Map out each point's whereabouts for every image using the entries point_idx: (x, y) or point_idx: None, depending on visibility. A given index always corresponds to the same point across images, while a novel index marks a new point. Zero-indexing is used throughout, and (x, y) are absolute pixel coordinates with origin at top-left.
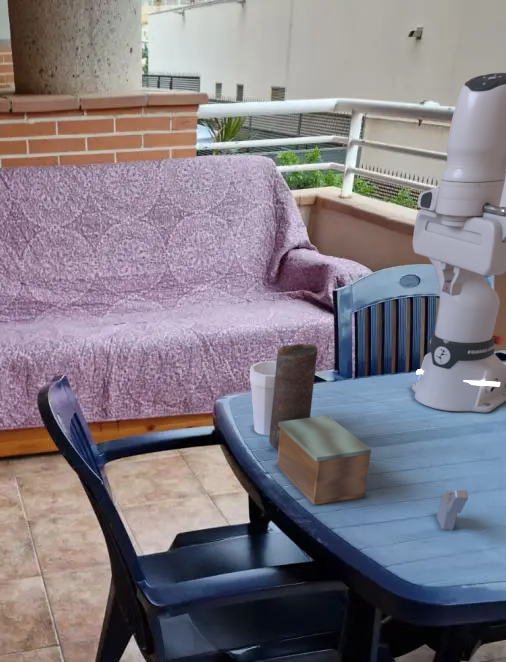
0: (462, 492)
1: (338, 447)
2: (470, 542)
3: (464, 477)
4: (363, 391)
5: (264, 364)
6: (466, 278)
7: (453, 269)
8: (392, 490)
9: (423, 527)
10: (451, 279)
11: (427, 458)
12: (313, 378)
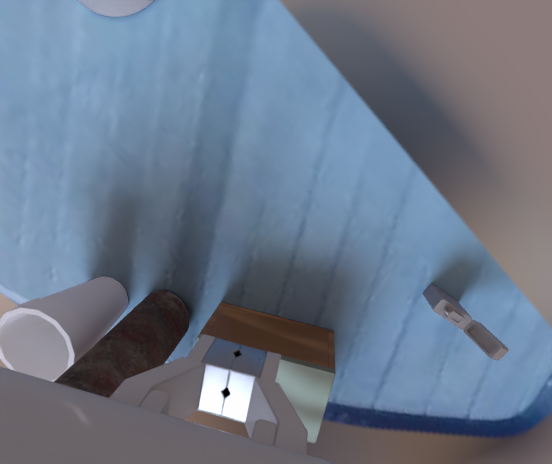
0: (499, 352)
1: (304, 403)
2: (492, 308)
3: (362, 176)
4: (24, 67)
5: (3, 339)
6: (291, 408)
7: (159, 388)
8: (338, 288)
9: (431, 326)
10: (199, 380)
11: (287, 175)
12: (132, 368)
